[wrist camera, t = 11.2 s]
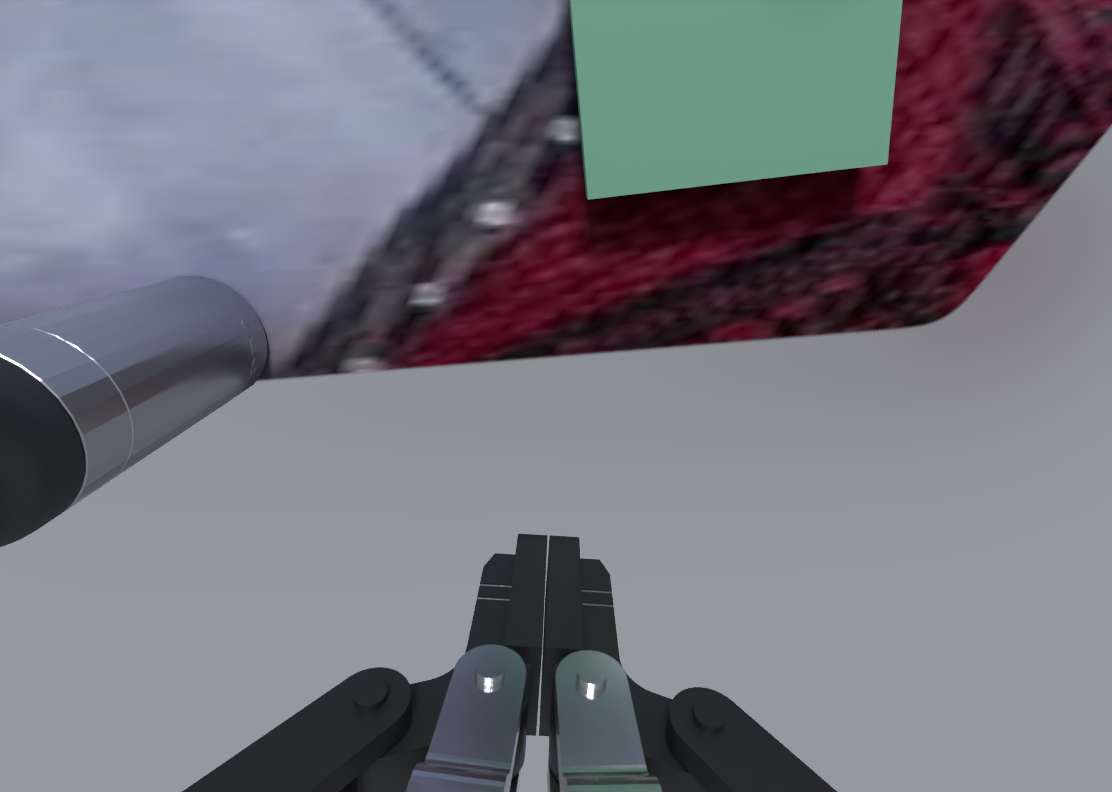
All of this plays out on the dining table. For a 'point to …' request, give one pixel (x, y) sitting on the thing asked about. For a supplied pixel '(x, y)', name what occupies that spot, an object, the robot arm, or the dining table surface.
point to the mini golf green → (730, 89)
